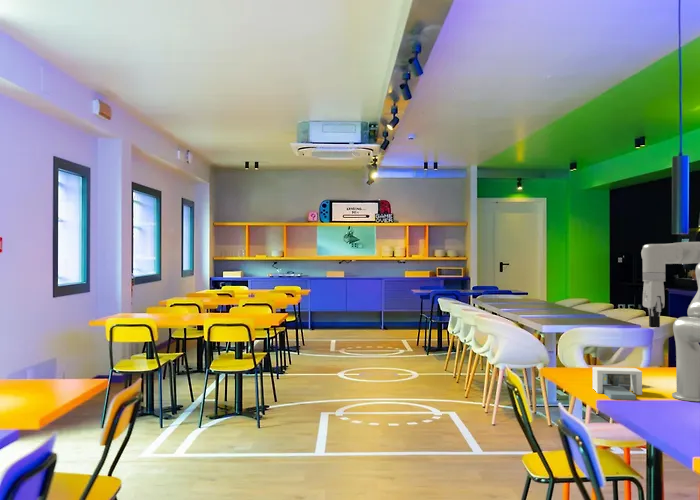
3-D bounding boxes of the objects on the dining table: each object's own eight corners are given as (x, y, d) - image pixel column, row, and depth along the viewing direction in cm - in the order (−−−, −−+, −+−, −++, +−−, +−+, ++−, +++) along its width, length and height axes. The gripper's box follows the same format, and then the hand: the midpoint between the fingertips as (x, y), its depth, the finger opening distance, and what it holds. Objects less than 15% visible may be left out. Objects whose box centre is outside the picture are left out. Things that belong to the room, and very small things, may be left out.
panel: (622, 392, 247) (622, 386, 247) (635, 401, 231) (635, 395, 231) (599, 391, 248) (599, 386, 248) (611, 400, 232) (611, 394, 232)
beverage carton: (593, 386, 258) (593, 370, 259) (626, 382, 266) (626, 367, 266) (607, 389, 251) (607, 373, 251) (641, 386, 258) (641, 370, 259)
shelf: (635, 390, 248) (635, 368, 248) (642, 394, 240) (641, 371, 241) (592, 389, 251) (592, 367, 251) (597, 393, 243) (597, 370, 243)
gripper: (636, 276, 230) (637, 324, 229) (649, 277, 215) (650, 329, 215) (657, 277, 229) (658, 325, 228) (672, 277, 214) (672, 329, 214)
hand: (654, 327), depth 221 cm, fingers closed
